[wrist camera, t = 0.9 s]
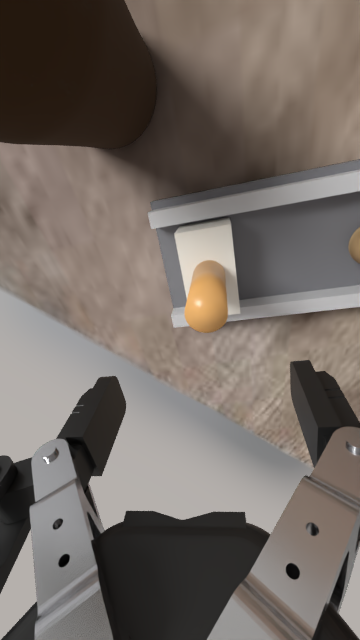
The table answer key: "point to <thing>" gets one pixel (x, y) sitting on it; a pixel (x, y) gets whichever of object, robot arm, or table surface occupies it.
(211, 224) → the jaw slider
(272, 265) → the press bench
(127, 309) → the table surface
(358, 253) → the walnut
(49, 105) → the olive oil
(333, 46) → the table surface
